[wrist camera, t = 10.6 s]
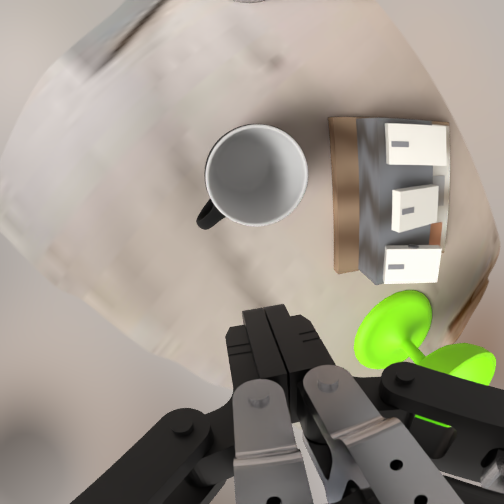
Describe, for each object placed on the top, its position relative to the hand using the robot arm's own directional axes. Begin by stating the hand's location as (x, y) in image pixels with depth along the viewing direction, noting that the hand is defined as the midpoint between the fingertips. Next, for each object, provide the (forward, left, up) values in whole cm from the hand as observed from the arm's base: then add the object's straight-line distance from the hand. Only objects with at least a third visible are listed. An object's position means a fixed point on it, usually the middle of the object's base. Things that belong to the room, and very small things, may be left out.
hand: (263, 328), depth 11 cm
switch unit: (+2, +24, -27) cm, 36 cm away
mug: (-2, +2, -27) cm, 27 cm away
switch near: (-5, +21, -19) cm, 29 cm away
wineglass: (+26, +26, -27) cm, 46 cm away
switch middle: (+2, +21, -19) cm, 28 cm away
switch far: (+9, +21, -19) cm, 30 cm away
